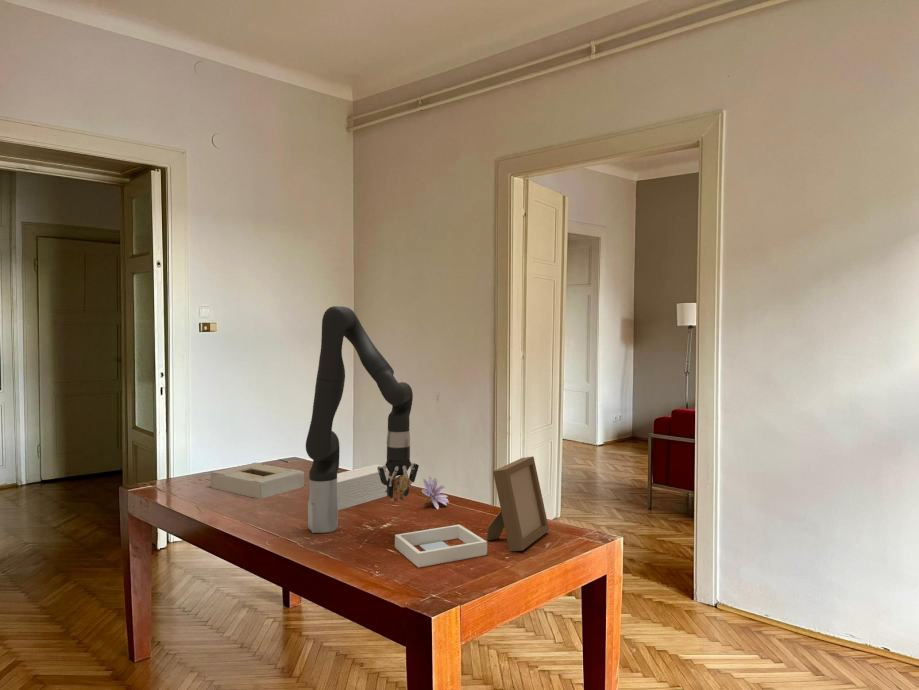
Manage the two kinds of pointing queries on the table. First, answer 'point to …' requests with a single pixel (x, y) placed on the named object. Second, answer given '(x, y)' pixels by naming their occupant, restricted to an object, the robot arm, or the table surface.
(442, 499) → the water lily
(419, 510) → the table surface
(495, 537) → the photo frame
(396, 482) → the lion figurine
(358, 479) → the stack of papers
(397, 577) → the table surface
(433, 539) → the low pen
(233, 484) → the box
